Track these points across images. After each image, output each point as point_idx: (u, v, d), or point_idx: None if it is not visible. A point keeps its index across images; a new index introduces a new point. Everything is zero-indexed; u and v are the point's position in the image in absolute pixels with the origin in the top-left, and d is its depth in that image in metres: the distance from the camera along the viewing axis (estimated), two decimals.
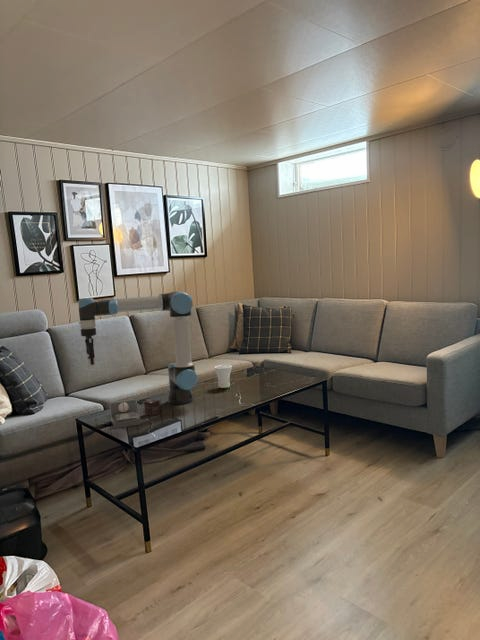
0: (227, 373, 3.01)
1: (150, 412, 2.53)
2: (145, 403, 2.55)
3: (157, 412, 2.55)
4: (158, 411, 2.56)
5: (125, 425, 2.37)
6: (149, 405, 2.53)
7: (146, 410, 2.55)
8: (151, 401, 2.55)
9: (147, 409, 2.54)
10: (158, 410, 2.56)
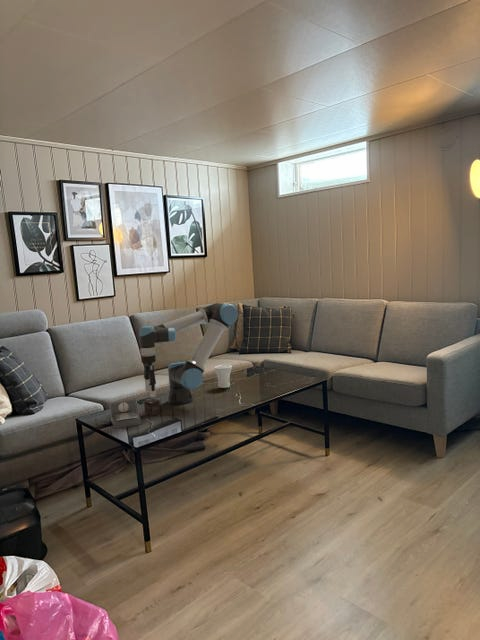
0: (227, 373, 3.01)
1: (150, 412, 2.53)
2: (145, 403, 2.55)
3: (157, 412, 2.55)
4: (158, 411, 2.56)
5: (125, 425, 2.37)
6: (149, 405, 2.53)
7: (146, 410, 2.55)
8: (151, 401, 2.55)
9: (147, 409, 2.54)
10: (158, 410, 2.56)
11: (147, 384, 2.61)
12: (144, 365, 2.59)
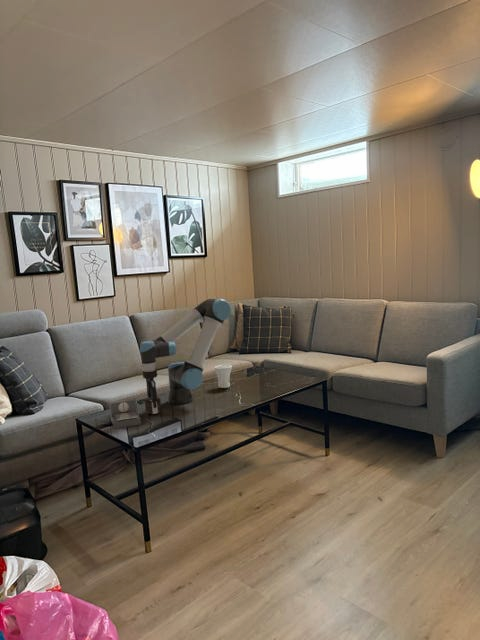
0: (227, 373, 3.01)
1: (151, 410, 2.53)
2: (146, 401, 2.55)
3: (158, 410, 2.56)
4: (159, 409, 2.56)
5: (125, 425, 2.37)
6: (150, 403, 2.53)
7: (147, 408, 2.55)
8: None
9: (147, 407, 2.55)
10: (159, 408, 2.56)
11: None
12: (146, 381, 2.60)
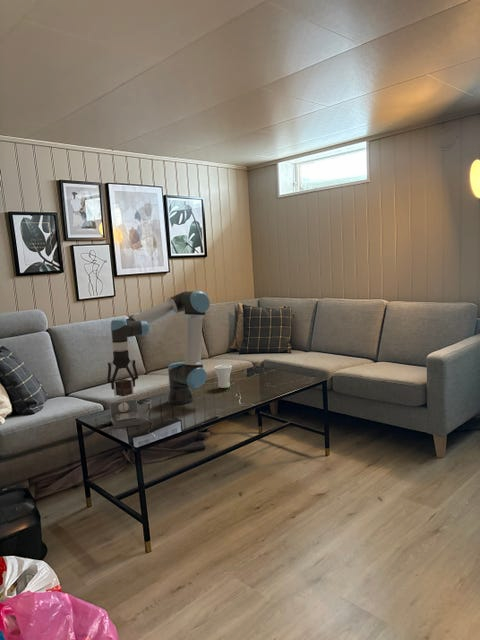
0: (227, 373, 3.01)
1: None
2: None
3: (120, 394, 2.38)
4: (120, 393, 2.37)
5: (125, 425, 2.37)
6: None
7: None
8: (120, 380, 2.40)
9: None
10: (120, 392, 2.37)
11: None
12: None
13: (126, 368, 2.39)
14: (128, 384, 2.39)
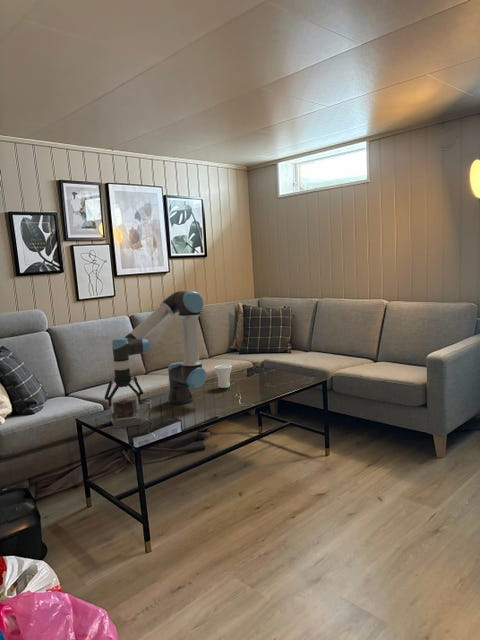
0: (227, 373, 3.01)
1: None
2: None
3: (121, 415, 2.39)
4: (122, 414, 2.39)
5: (125, 425, 2.37)
6: None
7: None
8: (121, 401, 2.41)
9: None
10: (122, 413, 2.38)
11: (136, 401, 2.44)
12: None
13: (129, 386, 2.40)
14: (129, 405, 2.40)
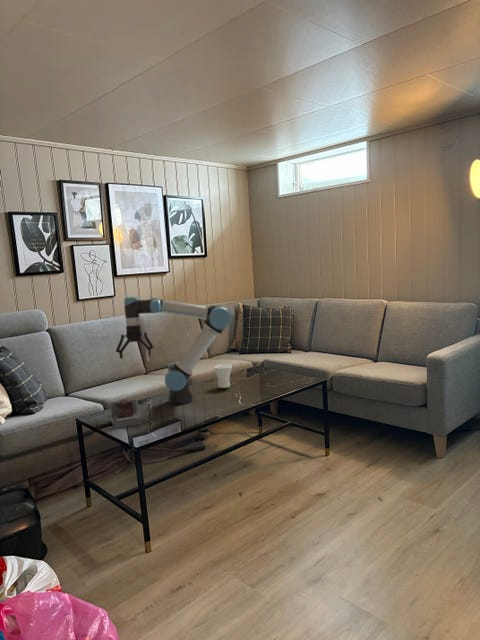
0: (227, 373, 3.01)
1: None
2: None
3: (121, 415, 2.39)
4: (122, 414, 2.39)
5: (125, 425, 2.37)
6: None
7: None
8: (121, 401, 2.41)
9: None
10: (122, 413, 2.38)
11: (146, 354, 2.65)
12: None
13: None
14: (129, 405, 2.40)
